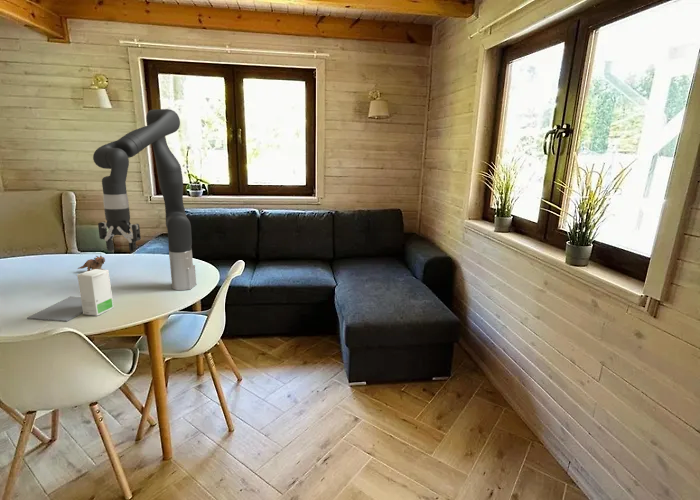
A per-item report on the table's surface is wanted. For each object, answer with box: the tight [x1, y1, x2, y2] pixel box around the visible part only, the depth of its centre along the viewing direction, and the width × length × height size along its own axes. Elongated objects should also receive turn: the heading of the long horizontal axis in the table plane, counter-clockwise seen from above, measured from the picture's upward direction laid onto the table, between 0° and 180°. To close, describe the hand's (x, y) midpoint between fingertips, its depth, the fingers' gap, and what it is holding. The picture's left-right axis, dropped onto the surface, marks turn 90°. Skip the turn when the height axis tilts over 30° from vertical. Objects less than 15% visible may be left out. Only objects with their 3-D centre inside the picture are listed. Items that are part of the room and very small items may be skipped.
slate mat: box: [26, 296, 83, 323], centre depth 146 cm, size 15×20×1 cm
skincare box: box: [76, 268, 114, 317], centre depth 143 cm, size 8×7×16 cm
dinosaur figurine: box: [77, 255, 106, 271], centre depth 185 cm, size 14×6×9 cm, turn 89°
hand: (121, 251), depth 138 cm, fingers open, 7 cm apart
